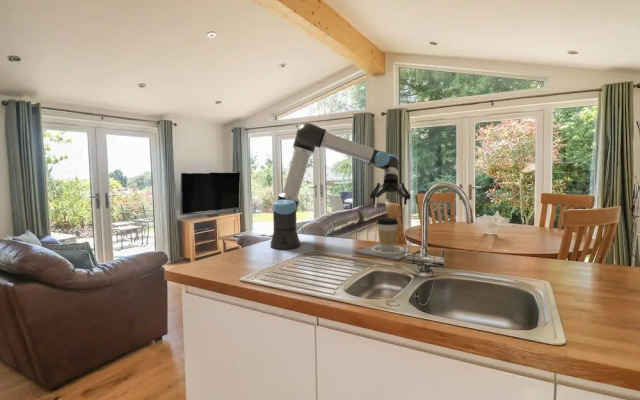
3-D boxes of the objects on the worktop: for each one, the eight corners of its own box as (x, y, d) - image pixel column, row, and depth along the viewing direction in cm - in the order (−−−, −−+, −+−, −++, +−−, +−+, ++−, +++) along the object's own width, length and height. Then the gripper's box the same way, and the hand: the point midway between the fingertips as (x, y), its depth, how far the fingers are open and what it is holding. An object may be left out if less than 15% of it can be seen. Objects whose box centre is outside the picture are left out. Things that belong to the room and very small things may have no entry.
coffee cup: (400, 249, 167) (401, 218, 166) (393, 253, 159) (393, 221, 158) (381, 247, 173) (381, 217, 171) (373, 251, 164) (373, 219, 163)
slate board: (355, 252, 165) (355, 249, 164) (379, 244, 181) (379, 241, 181) (397, 260, 150) (397, 257, 150) (419, 250, 167) (419, 248, 167)
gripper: (414, 182, 187) (414, 214, 174) (368, 182, 193) (364, 212, 180) (415, 172, 182) (415, 204, 168) (367, 172, 188) (363, 203, 174)
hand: (389, 208), depth 174 cm, fingers open, 13 cm apart
